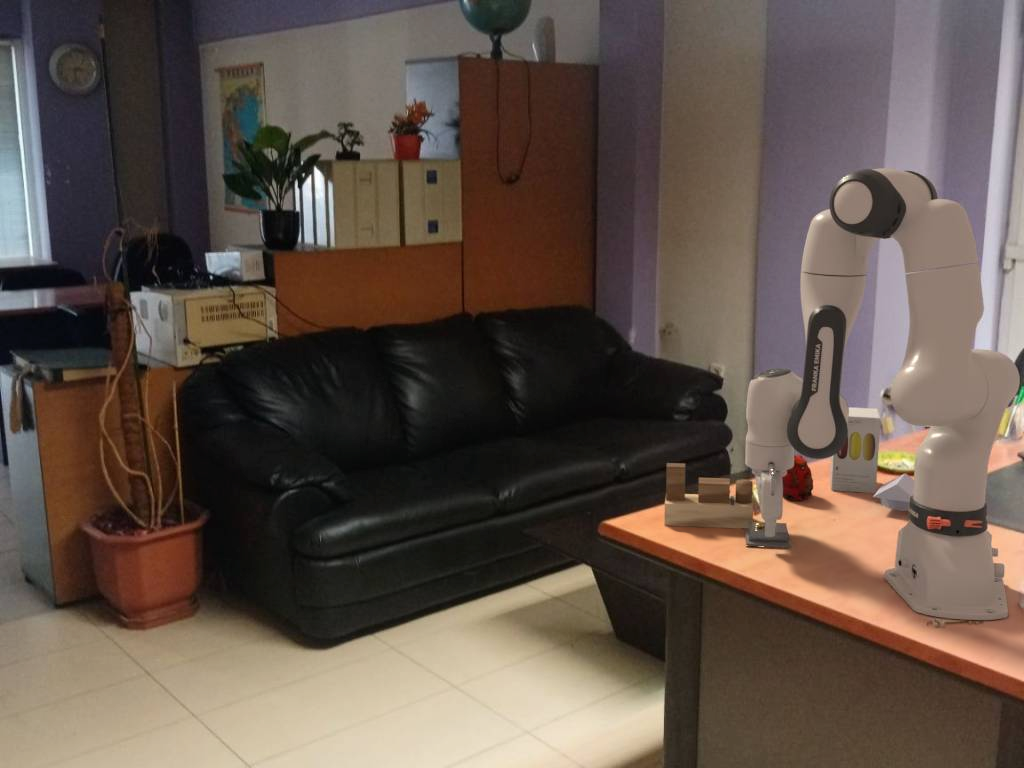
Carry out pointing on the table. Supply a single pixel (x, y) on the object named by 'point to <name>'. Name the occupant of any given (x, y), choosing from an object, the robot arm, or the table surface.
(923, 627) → the table surface
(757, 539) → the lever cap
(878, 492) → the white house model
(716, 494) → the wooden block toy
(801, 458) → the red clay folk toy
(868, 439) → the supplement box
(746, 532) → the bench mat
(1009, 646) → the table surface
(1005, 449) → the table surface
